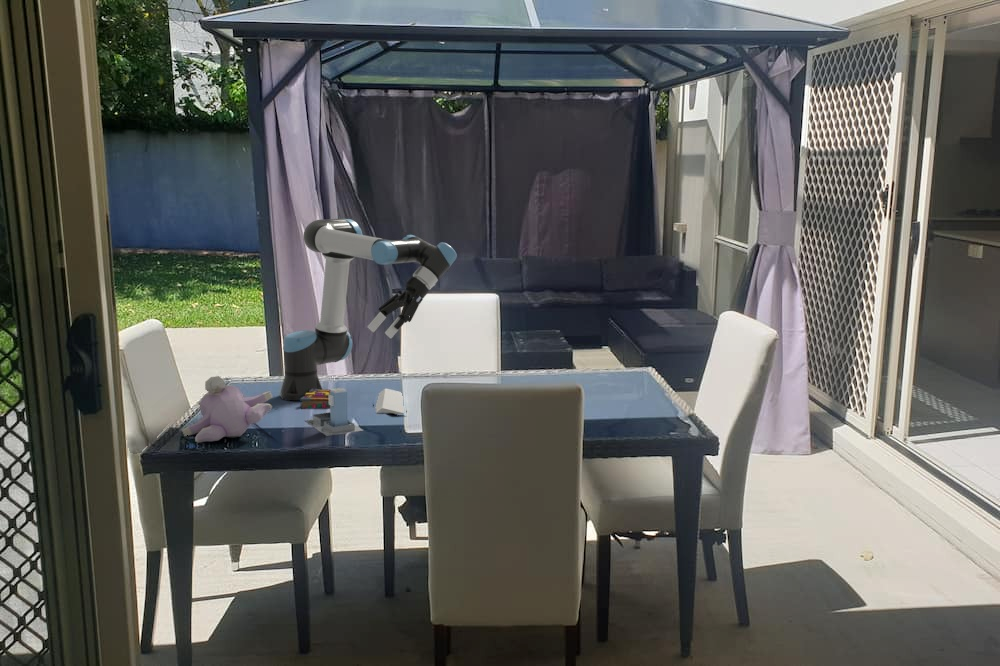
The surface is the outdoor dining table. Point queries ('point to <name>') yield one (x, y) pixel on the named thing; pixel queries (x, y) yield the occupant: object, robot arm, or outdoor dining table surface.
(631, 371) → the outdoor dining table surface
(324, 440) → the outdoor dining table surface
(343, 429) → the panel
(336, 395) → the plug
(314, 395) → the decorative book
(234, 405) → the toy
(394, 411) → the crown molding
